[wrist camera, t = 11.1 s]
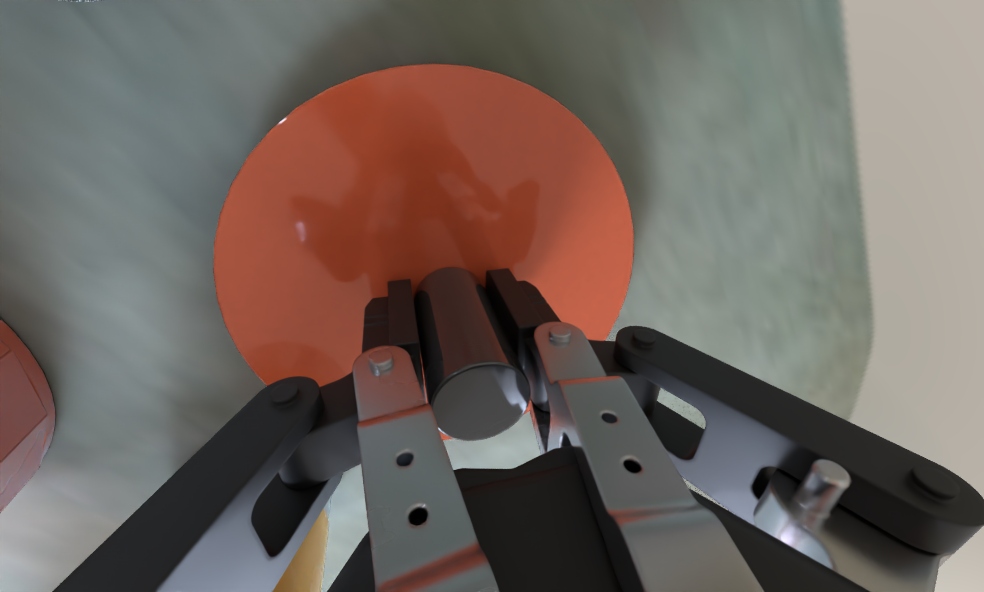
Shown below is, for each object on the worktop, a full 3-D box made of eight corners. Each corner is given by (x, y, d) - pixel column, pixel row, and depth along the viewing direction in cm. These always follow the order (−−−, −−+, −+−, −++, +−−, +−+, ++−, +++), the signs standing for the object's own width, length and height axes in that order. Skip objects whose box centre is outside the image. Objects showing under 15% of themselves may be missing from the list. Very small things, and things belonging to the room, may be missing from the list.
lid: (179, 379, 13) (54, 569, 8) (311, -62, 9) (218, -243, 4) (507, 445, 19) (554, 582, 14) (686, 196, 15) (850, 263, 10)
